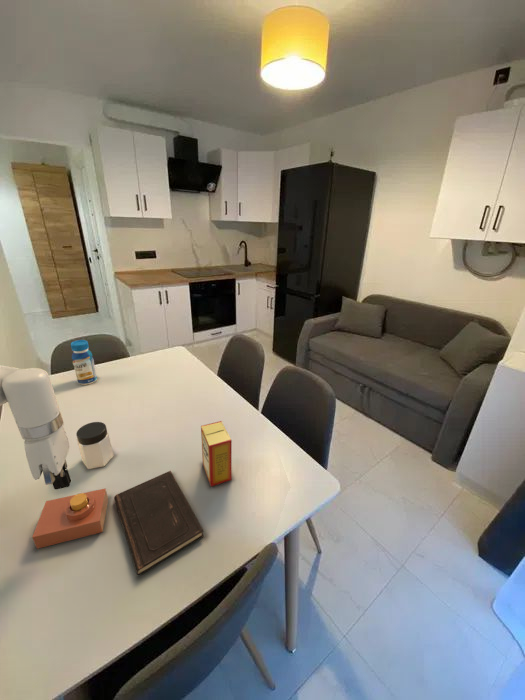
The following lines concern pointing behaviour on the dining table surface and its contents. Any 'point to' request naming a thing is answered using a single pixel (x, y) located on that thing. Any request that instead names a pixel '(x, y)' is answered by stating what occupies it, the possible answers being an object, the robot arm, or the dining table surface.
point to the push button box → (70, 519)
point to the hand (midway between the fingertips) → (63, 485)
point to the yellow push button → (78, 502)
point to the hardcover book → (156, 521)
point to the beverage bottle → (83, 362)
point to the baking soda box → (216, 452)
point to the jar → (94, 445)
